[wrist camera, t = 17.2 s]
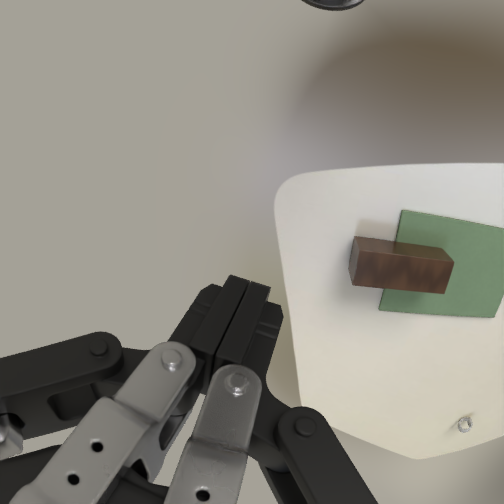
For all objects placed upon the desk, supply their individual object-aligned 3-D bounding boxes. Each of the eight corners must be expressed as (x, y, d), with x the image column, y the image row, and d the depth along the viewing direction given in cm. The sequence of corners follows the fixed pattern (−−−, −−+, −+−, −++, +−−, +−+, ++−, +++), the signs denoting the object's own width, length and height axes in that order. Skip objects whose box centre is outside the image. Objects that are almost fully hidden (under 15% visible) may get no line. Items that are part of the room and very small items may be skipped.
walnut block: (359, 249, 37) (455, 261, 35) (354, 236, 41) (442, 247, 40) (352, 285, 39) (444, 294, 37) (348, 268, 43) (433, 278, 42)
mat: (401, 209, 39) (402, 210, 39) (522, 232, 36) (523, 234, 36) (378, 308, 46) (378, 310, 45) (493, 316, 42) (494, 317, 42)
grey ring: (455, 423, 54) (459, 435, 50) (456, 418, 53) (461, 431, 50) (468, 419, 53) (472, 430, 49) (469, 414, 52) (474, 426, 49)
